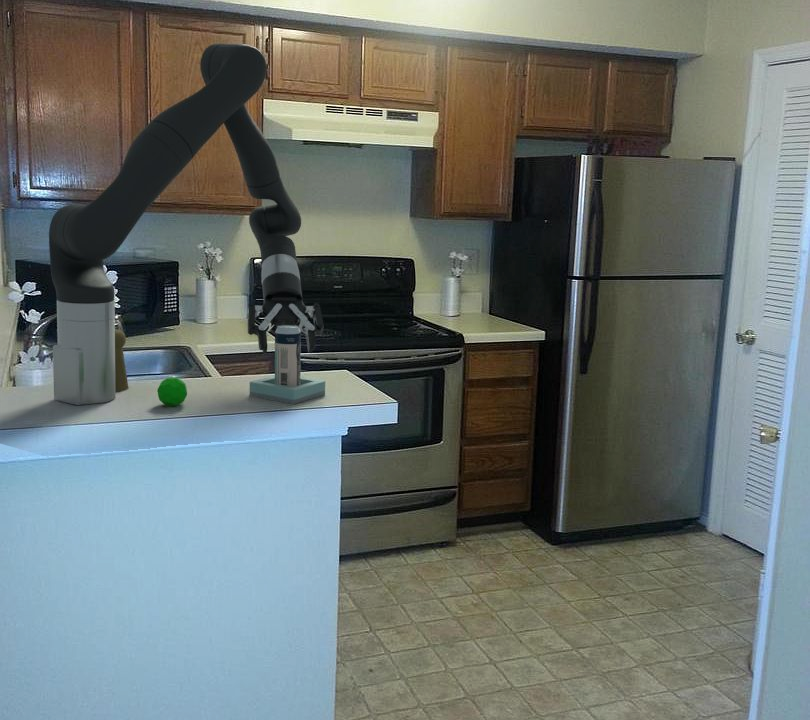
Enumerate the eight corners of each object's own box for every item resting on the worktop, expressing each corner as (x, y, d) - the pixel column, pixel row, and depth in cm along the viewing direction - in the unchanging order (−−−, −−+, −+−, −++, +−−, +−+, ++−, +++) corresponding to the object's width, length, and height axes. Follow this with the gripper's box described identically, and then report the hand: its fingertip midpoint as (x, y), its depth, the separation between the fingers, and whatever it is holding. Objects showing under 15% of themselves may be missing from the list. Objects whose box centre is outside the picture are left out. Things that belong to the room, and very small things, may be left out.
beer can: (305, 391, 155) (305, 327, 153) (282, 393, 152) (282, 329, 150) (292, 386, 159) (293, 324, 157) (270, 389, 156) (270, 325, 154)
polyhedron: (152, 407, 141) (152, 380, 141) (164, 400, 146) (163, 374, 145) (181, 409, 141) (181, 382, 140) (191, 403, 146) (191, 376, 145)
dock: (293, 404, 149) (294, 390, 148) (249, 395, 153) (249, 381, 153) (324, 394, 157) (325, 381, 157) (282, 386, 162) (282, 373, 161)
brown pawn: (134, 385, 156) (133, 328, 154) (120, 393, 150) (119, 333, 148) (103, 383, 156) (102, 325, 154) (87, 390, 150) (86, 330, 148)
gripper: (246, 269, 159) (251, 339, 151) (319, 271, 163) (328, 339, 155) (243, 293, 165) (248, 362, 157) (314, 295, 169) (322, 361, 161)
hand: (288, 350), depth 156 cm, fingers open, 8 cm apart
